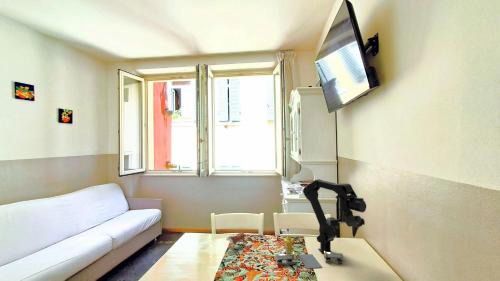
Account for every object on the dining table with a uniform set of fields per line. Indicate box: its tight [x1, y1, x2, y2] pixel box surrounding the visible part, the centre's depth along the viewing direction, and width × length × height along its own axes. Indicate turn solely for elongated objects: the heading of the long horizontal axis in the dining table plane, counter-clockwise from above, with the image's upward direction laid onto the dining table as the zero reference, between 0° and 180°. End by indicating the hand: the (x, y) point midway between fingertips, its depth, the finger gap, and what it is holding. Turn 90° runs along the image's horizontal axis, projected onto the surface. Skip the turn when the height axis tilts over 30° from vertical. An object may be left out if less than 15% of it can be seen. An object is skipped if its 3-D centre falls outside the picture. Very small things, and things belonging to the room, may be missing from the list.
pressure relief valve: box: [277, 234, 295, 254], centre depth 131 cm, size 6×12×10 cm, turn 138°
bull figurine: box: [225, 231, 245, 250], centre depth 144 cm, size 4×13×8 cm, turn 133°
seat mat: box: [298, 253, 323, 270], centre depth 125 cm, size 14×8×1 cm, turn 6°
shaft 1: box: [275, 252, 297, 266], centre depth 124 cm, size 10×4×5 cm, turn 96°
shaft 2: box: [323, 251, 343, 265], centre depth 125 cm, size 9×4×5 cm, turn 76°
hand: (345, 237), depth 125 cm, fingers open, 9 cm apart
